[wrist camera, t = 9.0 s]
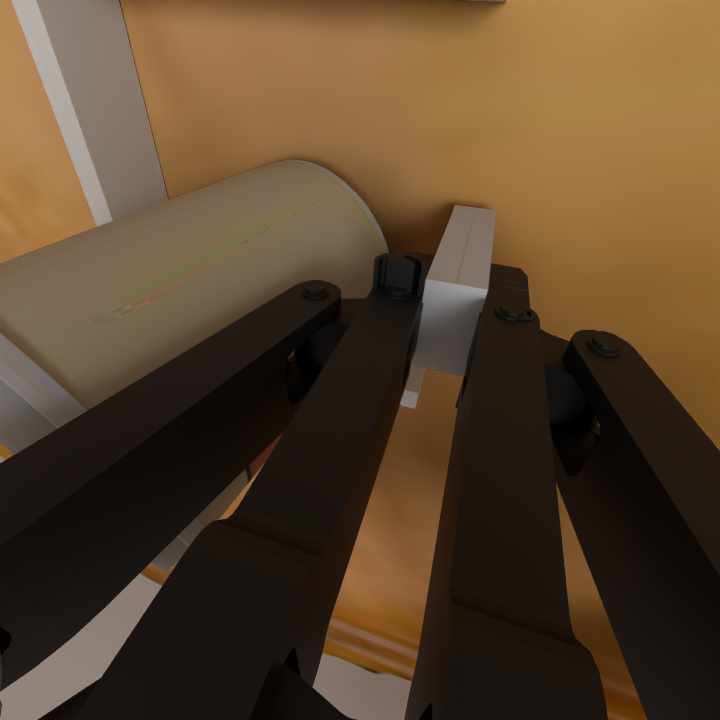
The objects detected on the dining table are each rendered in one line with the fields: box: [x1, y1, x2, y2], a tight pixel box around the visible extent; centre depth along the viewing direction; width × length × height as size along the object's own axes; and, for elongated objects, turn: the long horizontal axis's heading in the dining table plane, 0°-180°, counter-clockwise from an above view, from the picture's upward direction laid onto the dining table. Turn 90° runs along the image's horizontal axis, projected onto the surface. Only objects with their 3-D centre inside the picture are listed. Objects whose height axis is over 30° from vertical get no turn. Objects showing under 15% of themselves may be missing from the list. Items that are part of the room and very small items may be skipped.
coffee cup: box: [0, 160, 389, 570], centre depth 14 cm, size 9×9×12 cm
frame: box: [12, 0, 507, 409], centre depth 16 cm, size 15×15×4 cm
